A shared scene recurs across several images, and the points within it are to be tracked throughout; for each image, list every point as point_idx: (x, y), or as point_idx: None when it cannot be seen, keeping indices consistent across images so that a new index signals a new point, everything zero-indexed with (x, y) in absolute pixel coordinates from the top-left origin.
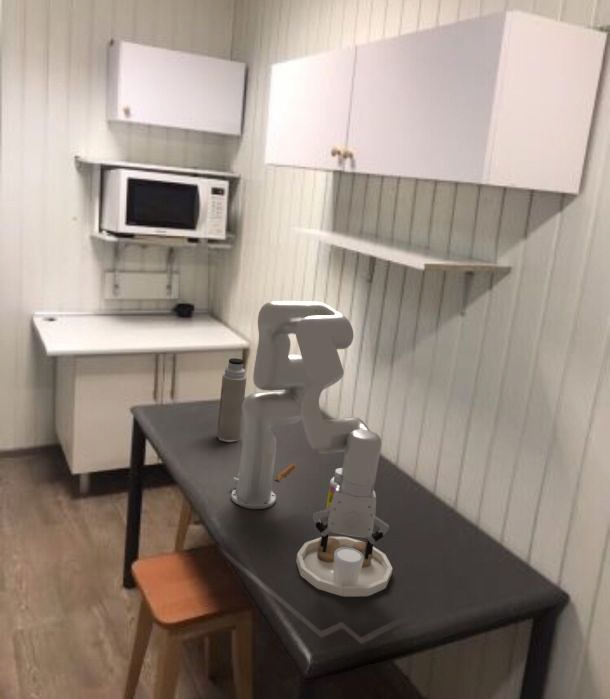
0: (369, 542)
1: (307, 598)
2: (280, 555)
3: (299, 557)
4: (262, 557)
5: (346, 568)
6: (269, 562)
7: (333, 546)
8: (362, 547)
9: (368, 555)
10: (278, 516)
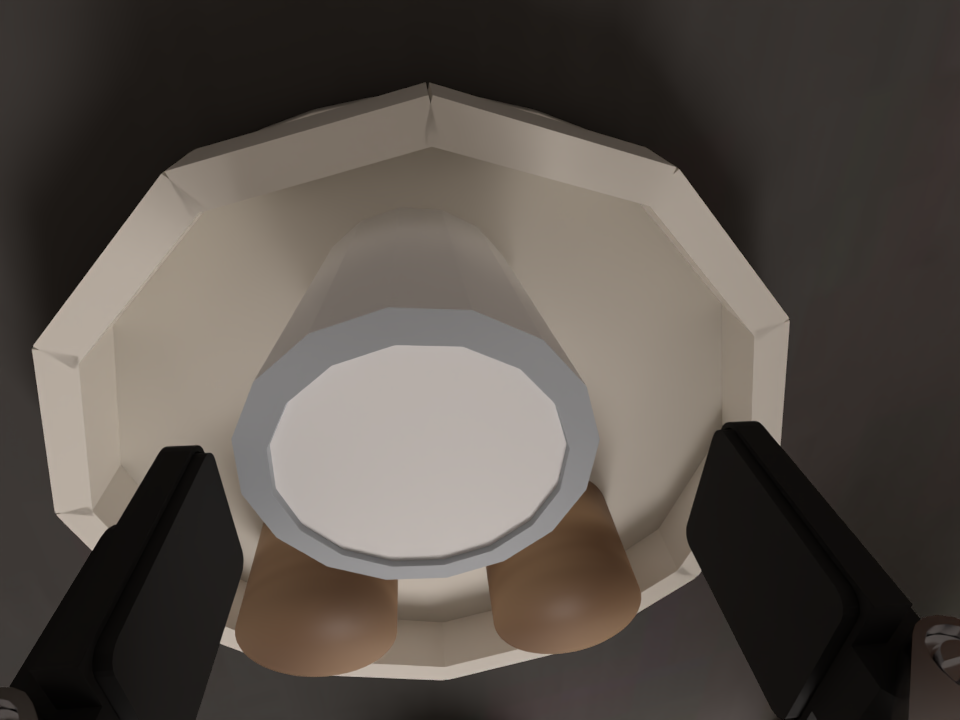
0: (75, 710)
1: (724, 29)
2: (805, 467)
3: (771, 435)
4: (917, 424)
5: (433, 278)
6: (891, 392)
7: (540, 581)
8: (319, 629)
9: (139, 487)
10: (741, 697)
